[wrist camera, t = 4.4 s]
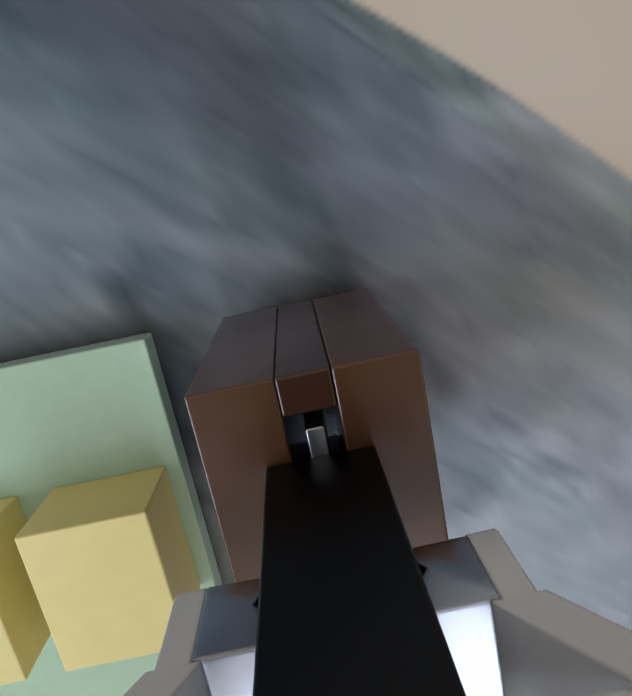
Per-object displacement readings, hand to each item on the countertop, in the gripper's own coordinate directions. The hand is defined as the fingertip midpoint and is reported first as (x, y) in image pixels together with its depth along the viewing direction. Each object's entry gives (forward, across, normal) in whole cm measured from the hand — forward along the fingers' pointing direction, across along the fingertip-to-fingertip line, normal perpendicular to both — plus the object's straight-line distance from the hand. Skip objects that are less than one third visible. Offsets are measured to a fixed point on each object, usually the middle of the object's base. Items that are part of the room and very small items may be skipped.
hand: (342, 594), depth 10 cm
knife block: (+11, 0, 0) cm, 11 cm away
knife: (+11, 0, 0) cm, 11 cm away
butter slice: (+10, +12, +4) cm, 16 cm away
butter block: (+10, +8, +4) cm, 13 cm away
